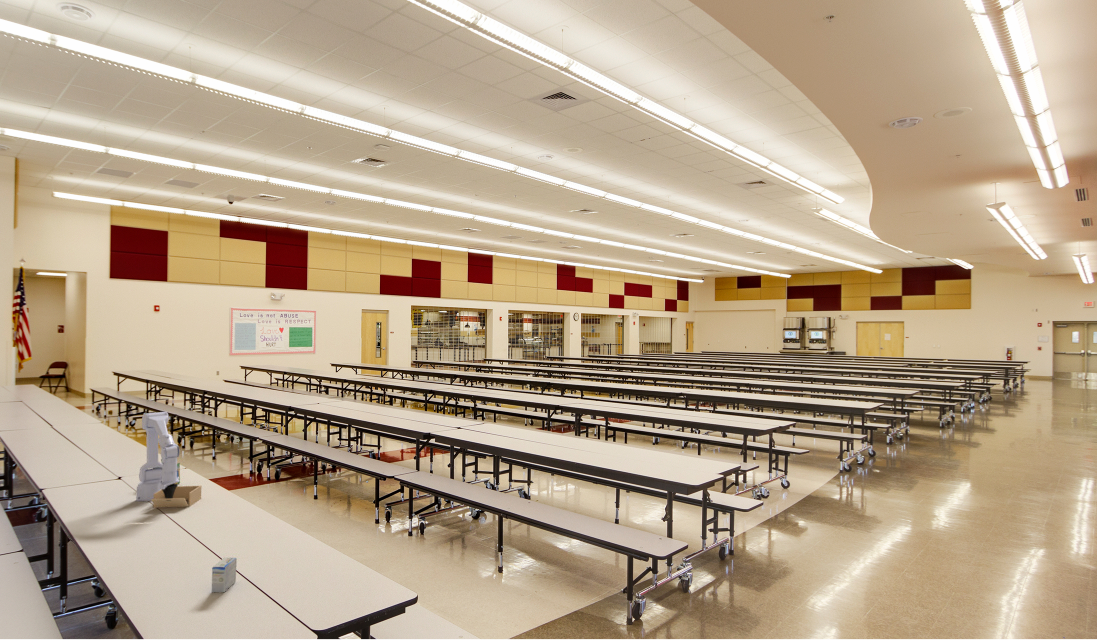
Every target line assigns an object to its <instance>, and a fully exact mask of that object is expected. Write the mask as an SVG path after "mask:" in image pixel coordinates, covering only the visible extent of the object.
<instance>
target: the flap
mask: <svg viewBox="0 0 1097 640" xmlns="http://www.w3.org/2000/svg"><path fill="white" fill-rule="evenodd" d="M151 500H152V501H151V502H152V504H153V505H154V506H155V508H160V507H161V508H185V507H188V503H187V502H186V501H187V500H185V498H169V499H151ZM166 500H171V501H166ZM155 508H154V509H155Z"/></svg>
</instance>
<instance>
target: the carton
mask: <svg viewBox="0 0 1097 640" xmlns="http://www.w3.org/2000/svg"><path fill="white" fill-rule="evenodd" d="M173 498H185V500H186V502H187V504H188V507H192V506H193V505H195V504H196V503H197V502H198V501H201V500H202V485H179V486H177V487H176V489H175V492H174V495H173ZM154 499H166V498H165V495H164V492H163V491H162V489H161V490H160V491H158V492H156V493H155V494H154ZM159 508H162V507H159ZM153 509H155V506H154V504H153Z"/></svg>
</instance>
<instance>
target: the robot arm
mask: <svg viewBox="0 0 1097 640" xmlns="http://www.w3.org/2000/svg"><path fill="white" fill-rule="evenodd" d="M168 422H169V413H168V412H167V411H160V412H149V413H144V414H143V415H142V418H141V427H142V430H145V433H146V462H145V463H144V464H143V465H141V466H140V467H139V474H138V479H139V482H138V484H137V486H136V493H135V494H136V497H135V502H152V500H151V499H154V494H155V493H156V492H158V491H160V490H161V489H162V491H163V492H164V495H165V498H166V499H169V498H173V495H174V492H175V489H176V487H177V486H178V485H179V484H174V483H178V482H179V477H177V463H178V458H179V457H180V452H181V451H180V446H179V445H178V444H177V443H175V441H174V438H173V436H172V434H170V433H169V432H168V428H167V425H168ZM159 448H160V457H161V459H162V462H160V461H159ZM161 459H160V460H161ZM162 463H163V464H162ZM157 467H159V468H157ZM152 468H153V469H152ZM161 481H162V482H161ZM166 501H171V500H166Z"/></svg>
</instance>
